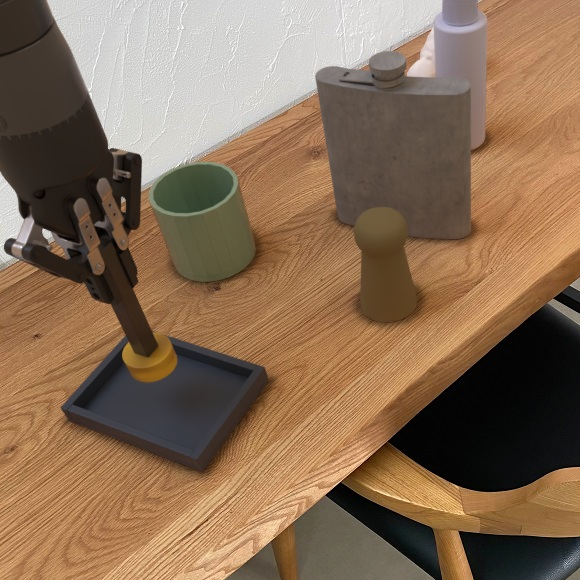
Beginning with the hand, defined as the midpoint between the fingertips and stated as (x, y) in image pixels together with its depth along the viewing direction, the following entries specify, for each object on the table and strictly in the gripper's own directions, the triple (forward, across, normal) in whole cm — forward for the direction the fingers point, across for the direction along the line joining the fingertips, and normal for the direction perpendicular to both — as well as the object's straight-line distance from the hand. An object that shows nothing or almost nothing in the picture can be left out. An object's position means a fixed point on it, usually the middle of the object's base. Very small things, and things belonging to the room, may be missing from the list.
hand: (118, 291), depth 66 cm
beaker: (+14, -20, -8) cm, 26 cm away
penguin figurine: (+15, -62, +2) cm, 64 cm away
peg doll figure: (+15, -20, +14) cm, 28 cm away
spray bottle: (+15, -50, +10) cm, 53 cm away
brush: (+9, 0, 0) cm, 9 cm away
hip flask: (+15, -32, +10) cm, 37 cm away
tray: (+14, 0, 0) cm, 14 cm away
